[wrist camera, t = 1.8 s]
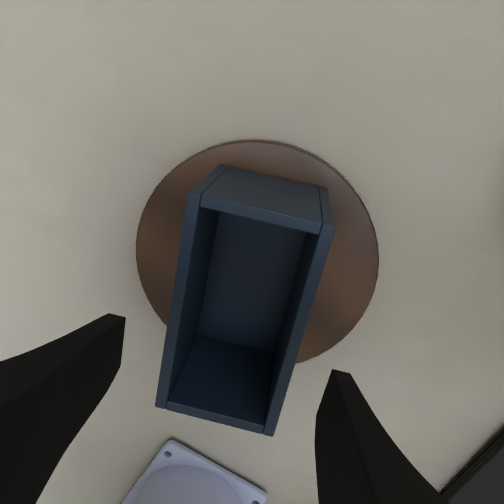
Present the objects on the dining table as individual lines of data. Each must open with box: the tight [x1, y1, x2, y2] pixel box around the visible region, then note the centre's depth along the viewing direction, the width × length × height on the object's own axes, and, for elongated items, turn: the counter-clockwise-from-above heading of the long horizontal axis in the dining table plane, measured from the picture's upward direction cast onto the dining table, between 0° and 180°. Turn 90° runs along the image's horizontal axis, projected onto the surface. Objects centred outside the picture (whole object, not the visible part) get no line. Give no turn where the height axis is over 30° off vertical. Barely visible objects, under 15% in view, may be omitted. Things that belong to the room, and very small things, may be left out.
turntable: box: [136, 140, 379, 364], centre depth 23 cm, size 13×13×1 cm
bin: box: [155, 164, 336, 437], centre depth 20 cm, size 11×5×6 cm, turn 168°
